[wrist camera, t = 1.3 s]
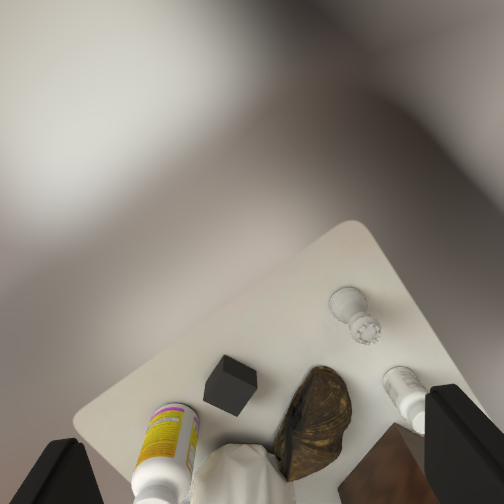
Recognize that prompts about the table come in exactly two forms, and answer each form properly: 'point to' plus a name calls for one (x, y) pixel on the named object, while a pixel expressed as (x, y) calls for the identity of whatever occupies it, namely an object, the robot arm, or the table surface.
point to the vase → (241, 478)
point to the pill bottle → (407, 396)
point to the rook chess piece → (355, 315)
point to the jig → (390, 472)
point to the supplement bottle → (166, 456)
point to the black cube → (230, 386)
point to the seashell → (313, 425)
